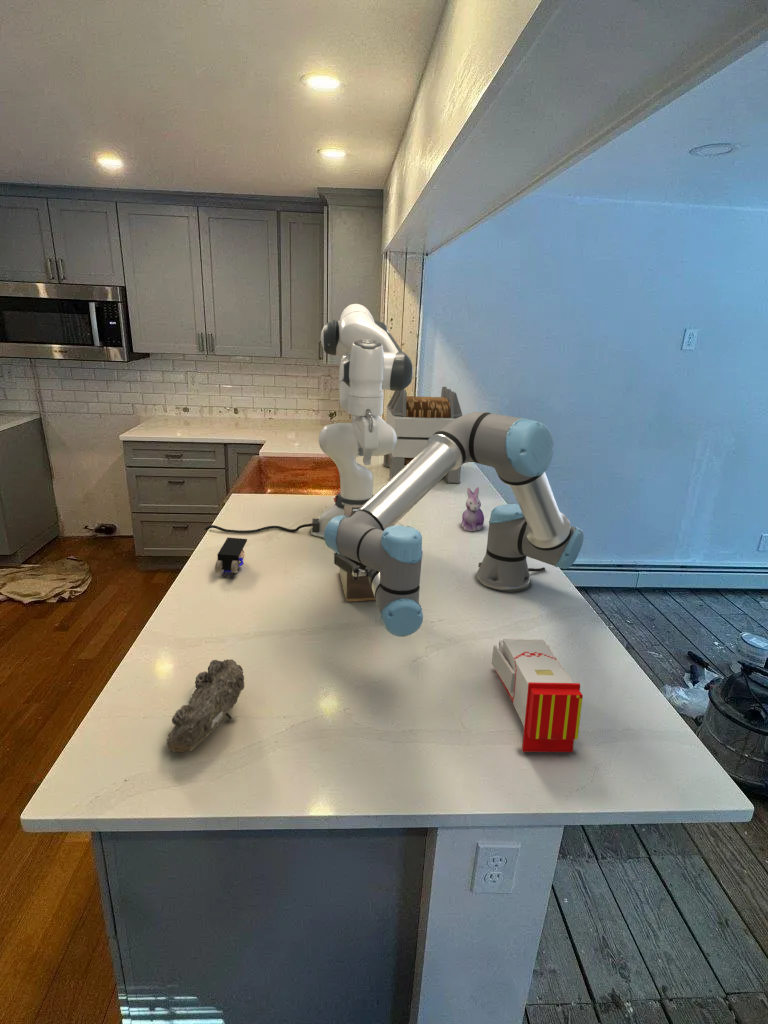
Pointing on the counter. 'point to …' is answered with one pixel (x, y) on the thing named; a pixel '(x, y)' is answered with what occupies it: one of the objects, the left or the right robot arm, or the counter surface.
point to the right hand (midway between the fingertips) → (372, 543)
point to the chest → (356, 587)
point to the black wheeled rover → (230, 556)
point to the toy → (539, 694)
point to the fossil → (206, 705)
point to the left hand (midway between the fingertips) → (364, 459)
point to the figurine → (473, 512)
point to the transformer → (418, 426)
